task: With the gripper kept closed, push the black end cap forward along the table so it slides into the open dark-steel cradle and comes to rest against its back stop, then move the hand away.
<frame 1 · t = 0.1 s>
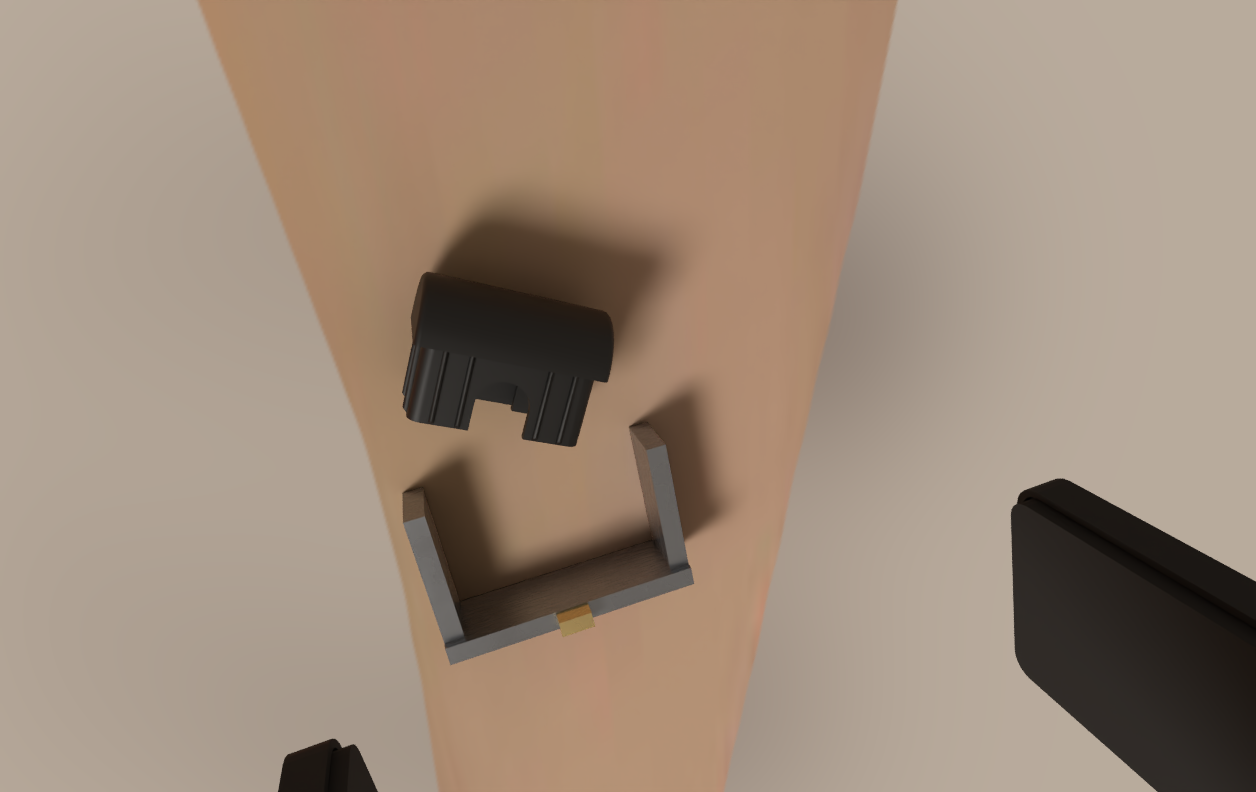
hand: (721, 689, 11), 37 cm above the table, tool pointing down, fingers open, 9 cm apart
steel cradle: (546, 524, 51), on the table
end cap: (496, 338, 46), on the table
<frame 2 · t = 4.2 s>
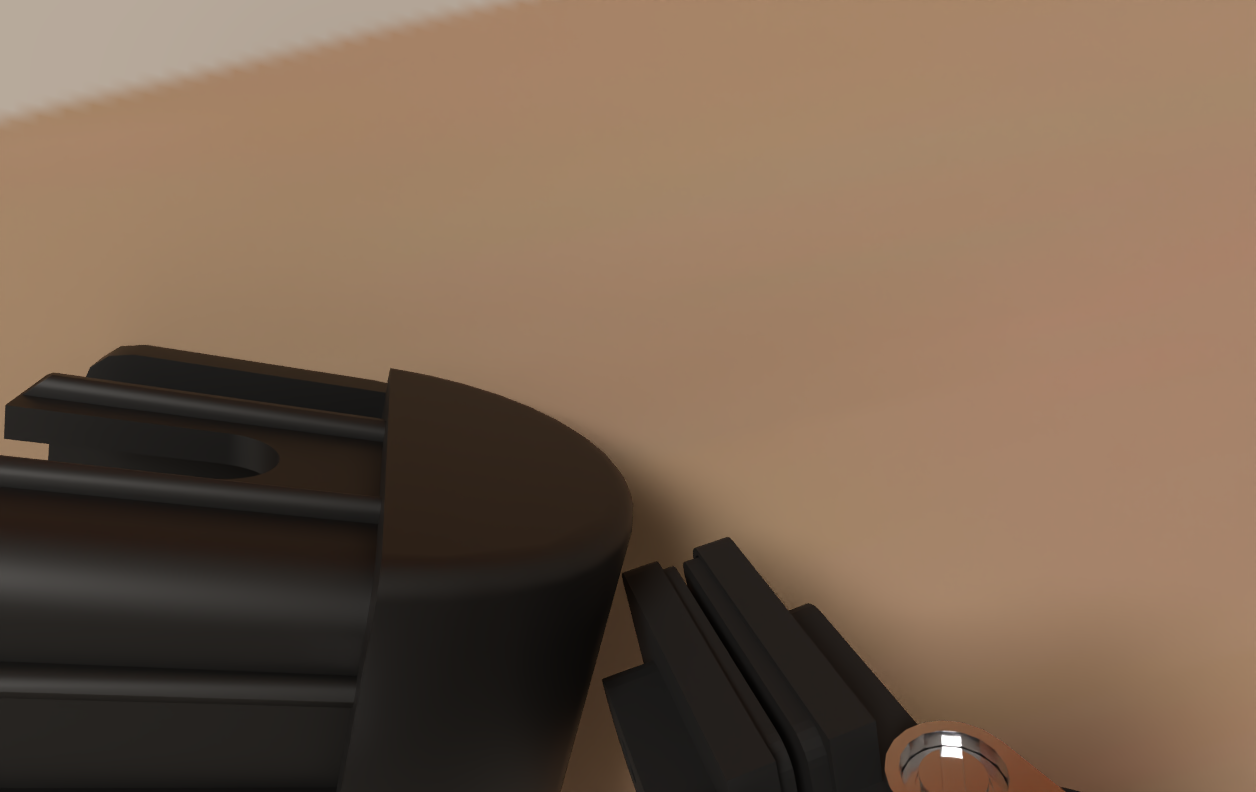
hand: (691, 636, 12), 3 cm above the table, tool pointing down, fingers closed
end cap: (316, 612, 14), on the table, touching gripper
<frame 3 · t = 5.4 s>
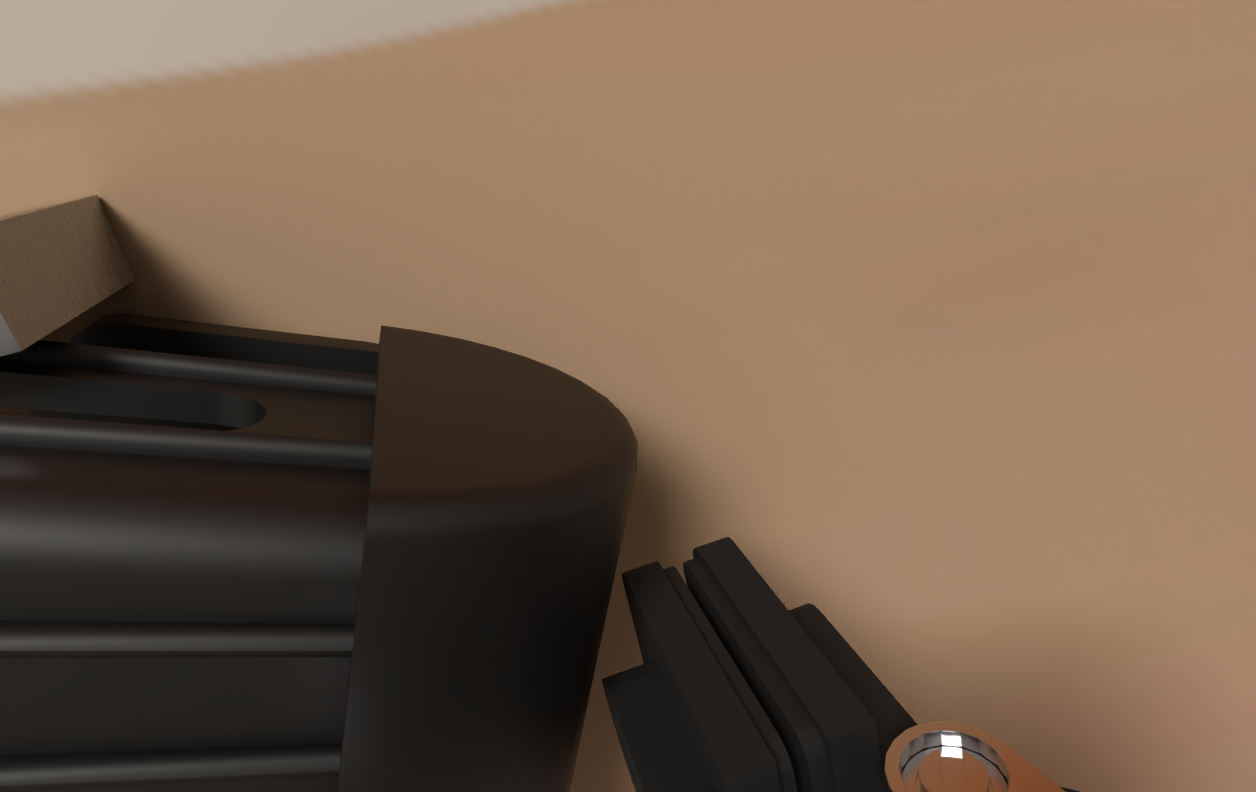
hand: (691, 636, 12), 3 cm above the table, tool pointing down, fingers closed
end cap: (323, 585, 14), on the table, touching gripper
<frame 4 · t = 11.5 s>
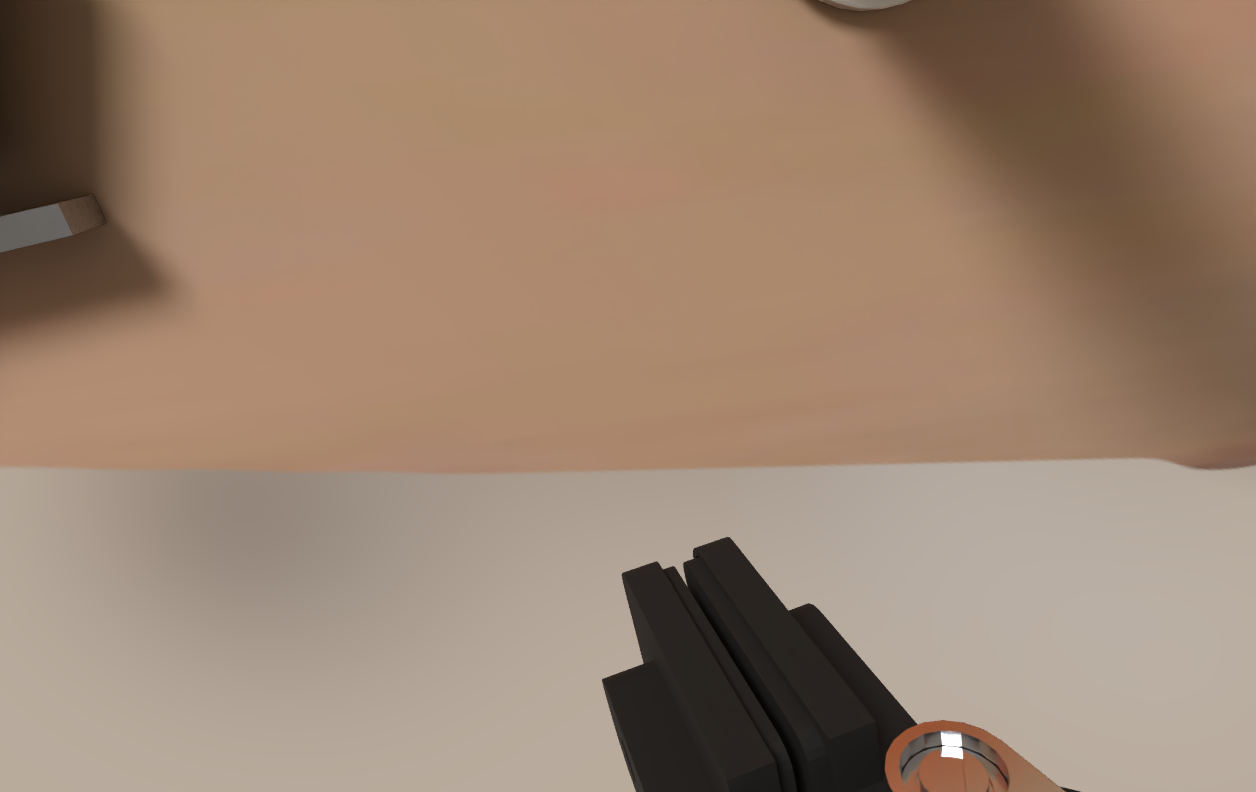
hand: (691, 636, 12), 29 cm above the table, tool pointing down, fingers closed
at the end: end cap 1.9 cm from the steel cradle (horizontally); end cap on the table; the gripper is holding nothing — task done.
